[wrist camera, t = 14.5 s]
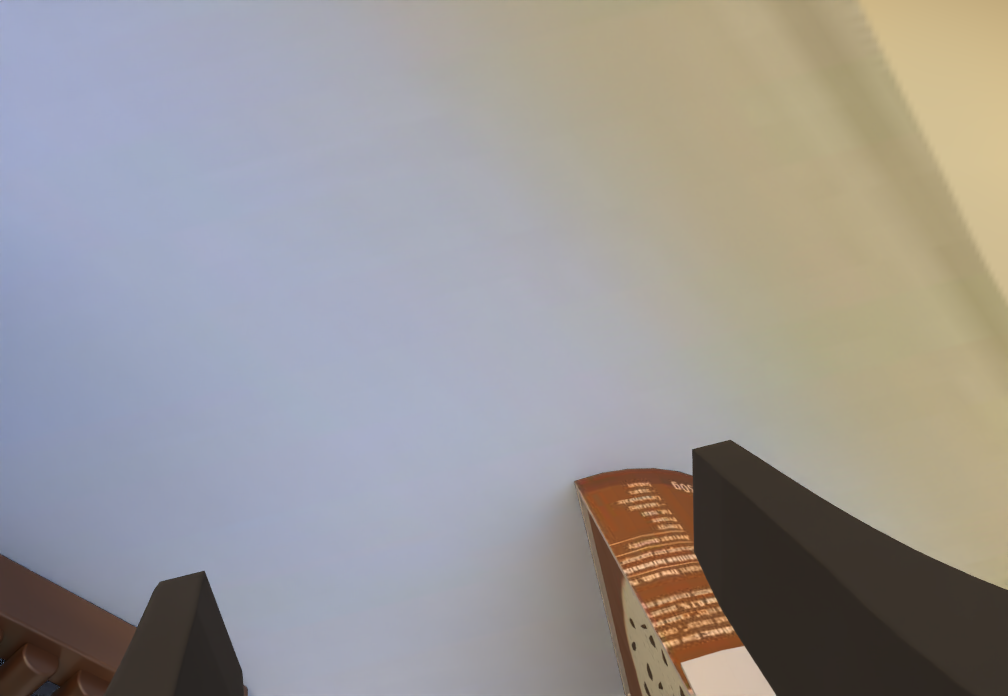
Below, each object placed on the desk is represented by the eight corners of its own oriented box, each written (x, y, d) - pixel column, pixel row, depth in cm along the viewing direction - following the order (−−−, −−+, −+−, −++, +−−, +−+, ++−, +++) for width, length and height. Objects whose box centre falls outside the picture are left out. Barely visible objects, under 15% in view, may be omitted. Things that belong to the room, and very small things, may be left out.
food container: (798, 659, 33) (993, 954, 25) (631, 721, 32) (772, 1045, 24) (774, 368, 26) (1028, 634, 18) (564, 439, 26) (724, 747, 17)
